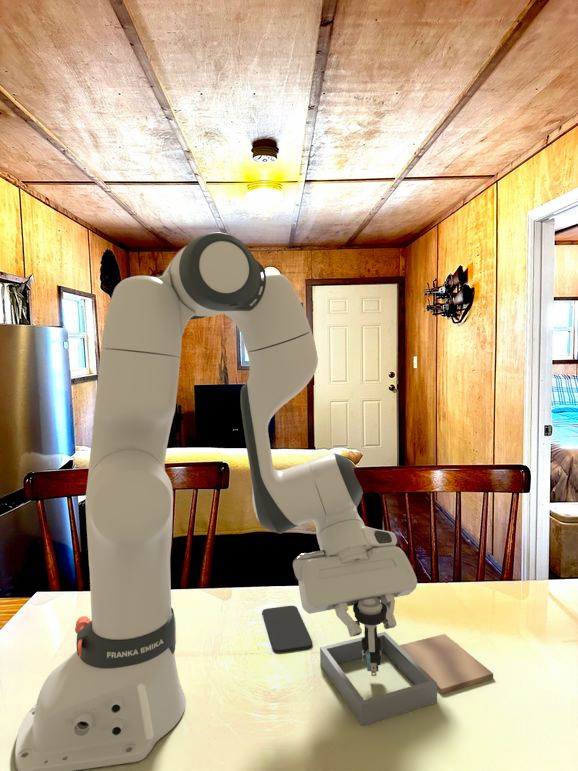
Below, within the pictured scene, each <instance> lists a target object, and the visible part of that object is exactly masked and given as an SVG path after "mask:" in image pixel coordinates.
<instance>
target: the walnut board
mask: <svg viewBox="0 0 578 771" xmlns="http://www.w3.org/2000/svg"><path fill="white" fill-rule="evenodd" d="M398 645H399V646H400V647H401V648H402V649H403V650H404V651H405V652H406V653H407V654H408V655H409V656H410V657H411V658H412V659H413V660H414V661H415V662H416V663H417V664H418V665H419V666H420V667H421V668H422V669H423V670H424V671H425V672H426V673H427V674H428V675H429V676H430V677H431V678H432V679H434V680H435V681H436V682H437V692H438V693H439V694H441V695H442V694H446V693H450V692H452V691H457V690H459V689H462V688H466V687H469V686H472V685H476V684H478V683H479V684H480V683H482V682H486V681H489V680H493V679H494V672H492V671H491V670H490V669H488V668H487V667H486V666H485V665H484V664H482V663H481V661H478V659H476V658H475V657H474V656H473V655H471V654H470V653H469V652H467V651H466V649H465V648H463V647H462V646H460V645H459V644H458V643H457V642H455V641H454V640H453V639H452V638H450V636H448V635H447V634H445V633H443V634H439V635H435V636H431V637H427V638H423V639H419V640H415V641H411V642H407V643H403V644H398Z"/></svg>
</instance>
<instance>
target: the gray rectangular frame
mask: <svg viewBox="0 0 578 771" xmlns="http://www.w3.org/2000/svg"><path fill="white" fill-rule="evenodd" d="M377 636H378V638H380V640H381V649H380V651H381V653H385V655H386V656H387V657H388V658H389V659H390V660H391V661H392V662H393V663H394V664H395V666H397V667H398V668H399V670H400V671H401V672H402V673H403V674H404V675H405V676H406V677H407V678H408V679H409V680H410V682H411V683H413V685H411V686H408V687H404V688H400V689H398V690H394V691H390V692H387V693H384V694H380V695H375V696H373V697H370V698H367V699H364V698H363V696H362V695H361V694H360V692H359V691H358V689H357V688H356V687H355V686H354V684H353V683H352V681H351V680H350V679H349V677H348V676H347V675H346V673H345V672H344V671H343V669H342V668H341V667H340V665H339V664H341V663H345V662H349V661H352V660H357V659H361V658H362V651H364V650H363V648H362V638H365V636H362V637H356V638H353V639H349V640H344V641H340V642H337V643H333V644H329V645H325V646H320V647H319V657H320V659H319V664H320V666H321V668H322V670H324V671H323V672H325V674H326V675H327V676H328V678H329V679H330V681H331V682H332V684H333V686H334V687H335V688H336V690H337V691H338V693H339V694H340V695H341V697H342V698H343V700H344V701H345V703H346V704H347V706H348V708H349V709H350V710H351V712H352V713H353V715H354V716H355V718H356V719H357V721H358V722H359V724H360V725H361V726H362V727H363V726H366V725H369V724H372V723H373V724H374V723H376V722H379V721H383V720H385V719H389V718H392V717H395V716H398V715H399V716H400V715H402V714H404V713H405V714H406V713H409V712H411V711H414V710H418V709H421V708H425V707H428V706H431V705H435V704H437V703H438V690H437V682H436V681H435V680H434V679H432V678H431V677H430V676H429V675H428V674H427V673H426V672H425V671H424V670H423V669H422V668H421V667H420V666H419V665H418V664H417V663H416V662H415V661H414V660H413V659H412V658H411V657H410V656H409V655H408V654H407V653H406V652H405V651H404V650H403V649H402V648H401V647H400V646H399V645H400V644H399V643H397V641H396V640H394V638H392V637H391V636H390V635H389V634H388V633H387V631H382V632H377ZM364 657H365V658H366V655H363V658H364Z"/></svg>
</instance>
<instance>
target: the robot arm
mask: <svg viewBox="0 0 578 771" xmlns="http://www.w3.org/2000/svg"><path fill="white" fill-rule="evenodd" d="M218 315H219V316H220V315H224V316H227V317H228V318H230V320H232V321H233V323H234V324H235V325H236V327H237V329H238V330H239V331H238V332H240V333H241V336H242V340H243V344H244V347H245V350H246V351H245V352H246V354H247V358H248V362H249V373H248V374H249V375H248V378H247V382H245V383H244V385H242V387H241V389H240V410H241V419H242V426H243V431H244V438H245V445H246V452H247V457H248V464H249V469H250V476H251V485H252V486H251V487H252V488H251V490H252V493H251V494H252V496H251V498H252V500H251V501H252V507H253V511H254V514H255V517H256V520H257V521H258V522H259V525H260V526H261V527H263V528H264V529H266V530H268V531H271V532H274V533H277V534H283V533H285V532H287V531H290V530H293V529H295V528H296V527H299V526H300V525H303V524H306V523H309V522H313V523H314V526H315V528H316V529H315V530H316V533H315V534H316V539H317V543H318V545H319V549H320V550H317V551H311V552H308V553H307V552H304V553H303V552H302V553H300V554H299V555H298V556H297V557H296V558H294V560H293V562H292V568H293V571H294V575H295V578H296V579H297V580H298V589H299V591H298V592H299V596H300V602H301V607H302V609H303V610H304V611H305V612H306V613H307V614H309V615H310V614H315V613H320V612H326V611H331V610H332V611H333V610H335V614H336V616H337V618H338V619H339V620H340V621H341V622H342V623H343V624H344V625H345V627H346V628H347V631H348V634H349V637H350V638H351V637H352V638H353V637H356V636H360V635H361V634H362V632H363V630H362V627H361V623H360V622H359V620H357V619H356V620H354V619H353V618H352V616H350V614H349V613H348V610H349V607H353V605H354V604H355V603H356V602H358V601H359V600H360V599H365V598H370V597H376V598H378V599H380V601H381V602H382V603H383V604H385V605H386V607H387V613H386V619H385V621H383V622H382V624H383V628H384V629H385V630H389V629H393V628H395V627H396V626H397V620H396V618H395V615H394V611H395V605H396V600H395V598H399V597H403V596H404V597H405V596H408V595H410V594H411V593H413V591H415V590H416V589H417V586H418V579H417V576H416V573H415V571H414V569H413V567H412V564H411V562H410V560H409V558H408V557H407V555H406V553H405V552H404V550H402V548H400V547H398V546H396V544H398V539H397V536H396V534H395V533H394V532H392V531H389V530H382V529H377V528H373V527H369V526H366V525H365V523H364V521H363V519H362V517H360V515H359V513H358V506H359V504H360V502H361V499H362V497H363V494H364V492H363V488H362V485H361V484H360V482H359V480H358V478H357V476H356V474H355V467H354V464H353V463H352V461H351V460H349V459H348V458H347V457H345V456H343V455H341V454H339V453H331V454H326V455H323V456H319V457H317V458H314V459H310V460H308V461H306V462H303V463H300V464H297V465H294V466H291V467H288V468H285V469H280V470H278V469H275V467H274V464H273V462H274V461H273V456H272V450H271V442H270V437H269V425H270V422H271V419H272V418H273V417H274V416H275V414H276V413H277V412H278V411H279V410H280V409H281V408H282V407H283V406H284V405H286V404H287V403H288V402H290V401H291V400H292V399H293V398H294V397H296V396H297V395H298V394H299V393H301V392H302V391H303V390H304V389H305V388H306V386H307V385H308V384H309V383H310V381H311V380H312V379H313V377H314V375H315V373H316V370H317V368H318V364H319V363H318V362H319V358H318V352H317V346H316V343H315V342H316V341H315V338H314V335H313V332H312V329H311V326H310V323H309V319H308V318H307V314H306V311H305V309H304V306H303V304H302V303H301V300H300V298H299V296H298V293H297V292H296V290H295V288H294V286H293V284H292V283H291V281H290V280H289V278H288V277H286V276H285V275H284V274H282V273H279V272H275V271H266V269H265V268H264V266H263V265H262V264H261V263H260V262H259V261H258V260H257V259H256V258H255V256H254V255H253V253H252V252H251V250H250V249H249V248H248V246H247V245H245V243H244V242H242V241H241V240H240V239H239V238H237V237H235V235H232V234H228V233H224V232H217V231H216V232H208V233H204V234H201V235H199V236H197V237H195V238H193V239H192V240H191V241H190V242H188V243H187V245H185V246H184V247H182V248H181V249H179V251H178V252H176V254H175V255H174V257H173V258H172V259H171V261H170V262H169V264H168V265H167V266H166V268H165V269H164V271H163V272H162V273H161V275H160V276H156V277H155V276H151V275H136V276H135V275H134V276H130V277H127V278H124V279H123V280H121V281H120V282H119V283H118V284H117V285H116V286H115V287H114V289H113V292H112V294H111V299H110V301H109V306H108V308H107V311H106V316H105V321H104V326H103V331H102V336H101V345H100V352H99V353H100V354H99V362H98V364H99V365H98V372H97V383H96V384H97V385H96V393H95V401H94V402H95V403H94V416H93V425H92V435H91V444H90V445H91V446H90V453H89V463H88V474H87V480H86V481H87V483H86V490H85V502H84V503H85V519H86V522H85V523H86V535H87V536H86V538H87V551H88V552H87V553H88V567H89V583H90V584H89V586H90V587H89V589H90V609H91V610H90V611H91V613H90V614H91V618H89V617H88V616H87V615H82V616H80V617H78V618H77V620H76V621H75V628H74V632H75V634H76V644H75V645H76V651H75V652H74V653H72V654H71V655H70V656H69V657H67V659H65V660H64V661H63V662H62V663H60V664H59V665H58V666H57V667H56V668H54V669H53V670H52V671H51V672H50V674H49V675H48V676H47V677H46V679H45V681H44V683H43V684H42V686H41V688H40V691H39V694H38V697H37V699H36V702H35V704H34V705H33V706H32V707H31V708H30V710H28V712H27V714H26V715H25V716H24V718H23V721H22V723H21V724H20V727H19V729H18V733H17V736H16V740H15V741H16V742H15V748H14V762H15V764H14V765H15V767H16V770H17V771H79V770H87V769H94V768H101V767H109V766H114V765H115V766H116V765H122V764H123V765H124V764H130V763H136V762H141V761H142V760H144V759H145V758H146V757H147V756H148V755H149V754H150V753H151V751H152V749H153V748H154V746H155V745H156V743H157V742H158V741H159V740H160V739H161V738H162V737H164V736H165V735H166V734H167V733H169V732H170V731H171V730H172V729H173V728H175V726H176V725H177V724H178V723H179V720H180V719H181V718H182V717H183V714H184V711H185V709H186V704H187V703H186V696H185V693H184V691H183V690H184V689H183V688H182V685H181V681H180V678H179V673H178V667H177V662H176V656H175V651H176V644H177V625H176V617H175V613H174V608H173V607H172V592H171V590H172V589H171V586H172V585H171V548H172V541H173V540H172V538H173V537H172V535H173V517H174V516H173V509H174V506H173V505H174V490H173V484H172V481H171V479H170V477H169V475H168V474H167V472H166V468H165V467H166V465H165V463H166V461H165V460H166V455H167V448H168V443H169V439H170V438H169V437H170V433H171V428H172V424H173V421H174V420H173V419H174V416H175V413H176V407H177V406H176V405H177V396H178V389H179V388H178V386H179V377H180V376H179V375H180V368H181V366H180V365H181V356H182V342H183V341H182V340H183V338H182V337H183V336H184V332H185V328H187V327H186V326H187V324H188V322H189V321H190V320H191V321H192V320H199V319H204V318H207V317H208V318H209V317H216V316H218Z"/></svg>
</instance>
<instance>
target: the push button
mask: <svg viewBox="0 0 578 771" xmlns="http://www.w3.org/2000/svg"><path fill="white" fill-rule="evenodd" d="M352 612H353V613H354V618H355V619H356V621H357V620H359V623H360V624H362V625H364V632H363V633H364V637H365V638H362V648H363V650H364V651H362V657H361V658H362V660H361V661H364V657H363V655H366V656H365V658H366V669H367V670H366V671H367V672H370V673H371V677H377V672H379V666H382V665H381V664H382V663H383V662H382V652H381V651H380V649H381V640H380V638H378V636H377V634H378V627H377V626H378V625H380V624H381V623H382V622H383V621H385V619H386V613H387V607H386V605H385V604H383V603H382V602H381V600H380V599H378V598H376V597H370V598H365V599H360V600H359V601H358V602H356V603H355V604H354V605H353V606H352ZM382 624H383V623H382Z"/></svg>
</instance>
